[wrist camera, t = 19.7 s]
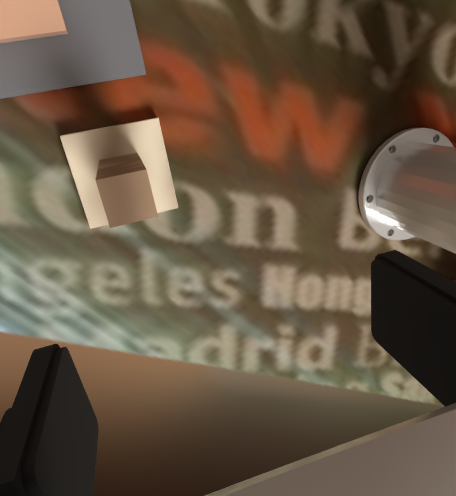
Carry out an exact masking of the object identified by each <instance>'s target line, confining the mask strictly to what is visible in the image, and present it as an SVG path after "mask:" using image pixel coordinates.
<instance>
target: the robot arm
mask: <svg viewBox="0 0 456 496" xmlns="http://www.w3.org/2000/svg"><path fill="white" fill-rule="evenodd" d="M359 207H360V212H361V215H362V218H363V220H364V221H365V223H366V225H367V226H368V227H369V228H370V229H371V230H372V231H373V232H374V233H376V234H378V235H380V236H382V237H384V238H386V239H390V240H406V239H409V238H413V237H415V236H416V237H418V238H421V239H423V240H425V241H428V242H430V243H432V244H434V245H437V246H439V247H441V248H444V249H446V250H448V251H450V252H453V253H455V254H456V147H454V146H453V144H452V143H451V142H450V140H449V139H448V138H447V137H446V136H445V135H444V134H442V133H441V132H439V131H436V130H434V129H429V128H410V129H406V130H403V131H401V132H399V133H396V134H394V135H393V136H392V137H390V138H389V139H387V140H386V141H385V142H384V143H383V144H382V145H381V146H380V147H379V148H378V149H377V150H376V151H375V153H374V154H373V155H372V157H371V158H370V160H369V162H368V164H367V166H366V167H365V170H364V172H363V175H362V178H361V182H360V187H359ZM371 331H372V335H373V337H374V339H375V340H376V342H377V343H378V344H379V345H381V346H382V347H383V348H384V349H385V350H386V351H387V352H388V353H389V354H390V355H391V356H392V357H393V358H394V359H395V360H396V361H397V362H399V363H400V364H401V365H402V366H403V367H404V368H405V369H406V370H407V371H408V372H409V373H410V374H411V375H412V376H413V377H414V378H415V379H417V380H418V381H419V382H420V383H421V384H422V385H423V386H424V387H425V388H426V389H427V390H428V391H429V392H430V393H431V394H432V395H433V396H434V397H436V398H437V399H438V400H439V401H440V402H441V403H442V404H443V405H444V406H445V407H443V408H440V409H438V410H435V411H432V412H430V413H427V414H424V415H421V416H418V417H416V418H413V419H410V420H407V421H405V422H402V423H399V424H396V425H394V426H391V427H388V428H385V429H383V430H380V431H377V432H375V433H372V434H369V435H366V436H364V437H361V438H358V439H356V440H353V441H350V442H348V443H345V444H342V445H339V446H337V447H334V448H332V449H329V450H326V451H323V452H321V453H318V454H315V455H313V456H310V457H307V458H304V459H302V460H299V461H296V462H294V463H291V464H288V465H286V466H283V467H280V468H277V469H275V470H272V471H270V472H267V473H264V474H262V475H259V476H256V477H254V478H251V479H248V480H246V481H243V482H240V483H238V484H235V485H232V486H230V487H227V488H224V489H222V490H219V491H216V492H214V493H211V494H209V495H206V496H456V282H454V281H452V280H451V279H449V278H447V277H445V276H443V275H441V274H439V273H438V272H436V271H434V270H432V269H430V268H428V267H426V266H425V265H423V264H421V263H419V262H417V261H415V260H413V259H412V258H410V257H408V256H406V255H404V254H402V253H400V252H399V251H396V250H393V251H389V252H386V253H382V254H378V255H377V256H376V257H375V260H374V261H372V263H371ZM97 441H98V423H97V418H96V416H95V413H94V411H93V409H92V406H91V404H90V401H89V399H88V396H87V394H86V392H85V389H84V387H83V384H82V382H81V380H80V377H79V375H78V372H77V370H76V368H75V365H74V363H73V360H72V358H71V356H70V353H69V351H68V349H67V348H66V347H62V348H60V347H59V345H58V344H53V345H50V346H46V347H43V348H39V349H35V350H34V351H33V353H32V355H31V358H30V360H29V363H28V366H27V369H26V371H25V374H24V377H23V379H22V382H21V384H20V387H19V390H18V393H17V395H16V398H15V401H14V403H13V406H12V408H9V409H8V410H7V411H6V412H5V414H4V416H3V418H2V420H1V423H0V496H93V489H94V477H95V466H96V453H97Z"/></svg>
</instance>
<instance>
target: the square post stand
mask: <svg viewBox="0 0 456 496" xmlns="http://www.w3.org/2000/svg"><path fill="white" fill-rule="evenodd" d="M60 138H61V141H62V144H63V147H64V150H65V153H66V156H67V159H68V162H69V165H70V168H71V171H72V174H73V177H74V180H75V183H76V186H77V189H78V193H79V196H80V199H81V202H82V205H83V208H84V211H85V214H86V217H87V220H88V223H89V226H90V229H92V228H96V227H100V226H104V225H108V224H109V226H110V228H112V227H116V226H120V225H124V224H128V223H133V222H137V221H141V220H145V219H149V218H153V217H158V214H157V213H159V212H163V211H167V210H172V209H176V208H178V204H177V199H176V195H175V190H174V186H173V181H172V177H171V172H170V168H169V163H168V159H167V154H166V150H165V145H164V141H163V136H162V132H161V127H160V123H159V118H152V119H147V120H141V121H136V122H131V123H125V124H120V125H114V126H109V127H103V128H98V129H93V130H87V131H82V132H76V133H71V134H66V135H61V136H60Z"/></svg>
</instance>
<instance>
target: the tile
mask: <svg viewBox="0 0 456 496" xmlns="http://www.w3.org/2000/svg"><path fill="white" fill-rule="evenodd" d="M64 34H68V30H67V27H66V24H65V20H64V17H63V14H62V10H61V7H60V3H59V0H0V43H7V42H14V41H21V40H28V39H35V38H43V37H50V36H57V35H64Z"/></svg>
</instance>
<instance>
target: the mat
mask: <svg viewBox="0 0 456 496" xmlns="http://www.w3.org/2000/svg"><path fill="white" fill-rule="evenodd" d="M59 3H60V7H61V10H62V14H63V17H64V20H65V24H66V27H67V30H68V34H64V35H57V36H50V37H43V38H35V39H28V40H21V41H14V42H7V43H0V99H3V98H9V97H15V96H21V95H27V94H33V93H39V92H45V91H51V90H57V89H63V88H69V87H75V86H81V85H87V84H93V83H99V82H105V81H111V80H117V79H123V78H129V77H135V76H141V75H146V70H145V66H144V62H143V57H142V53H141V48H140V44H139V40H138V35H137V31H136V27H135V22H134V18H133V14H132V9H131V5H130V1H129V0H59Z"/></svg>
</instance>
